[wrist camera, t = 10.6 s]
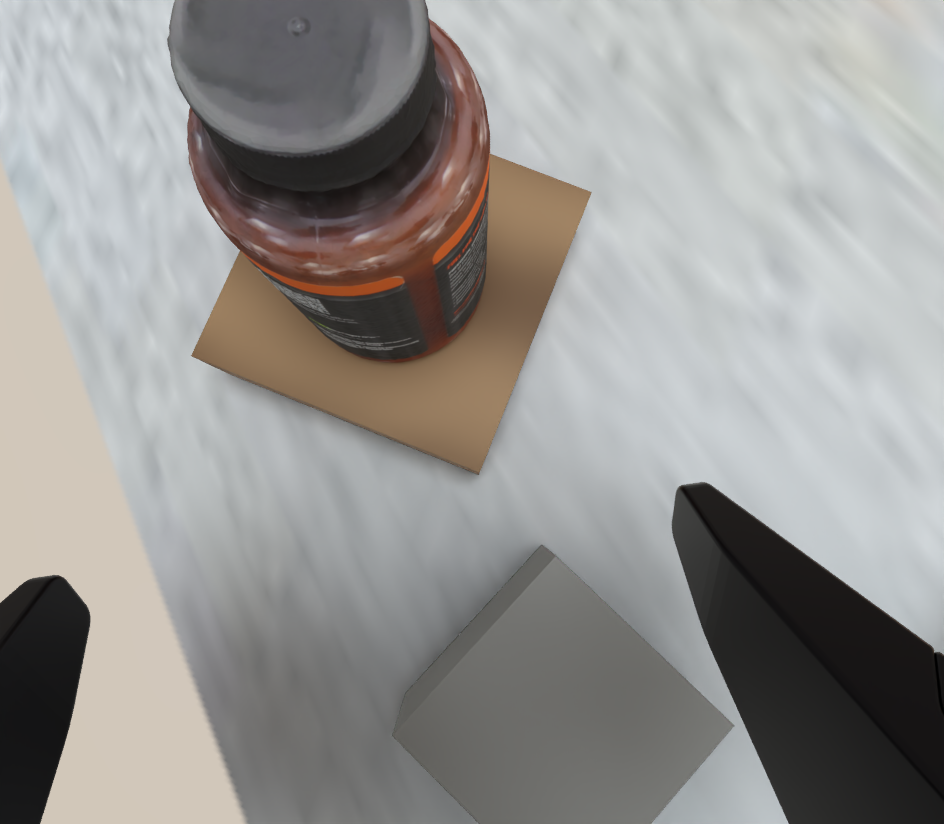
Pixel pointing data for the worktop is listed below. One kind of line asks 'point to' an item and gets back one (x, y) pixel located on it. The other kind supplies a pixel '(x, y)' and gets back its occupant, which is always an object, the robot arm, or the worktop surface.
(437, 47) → the supplement bottle
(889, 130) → the worktop surface
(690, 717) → the slate block
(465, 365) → the walnut block
